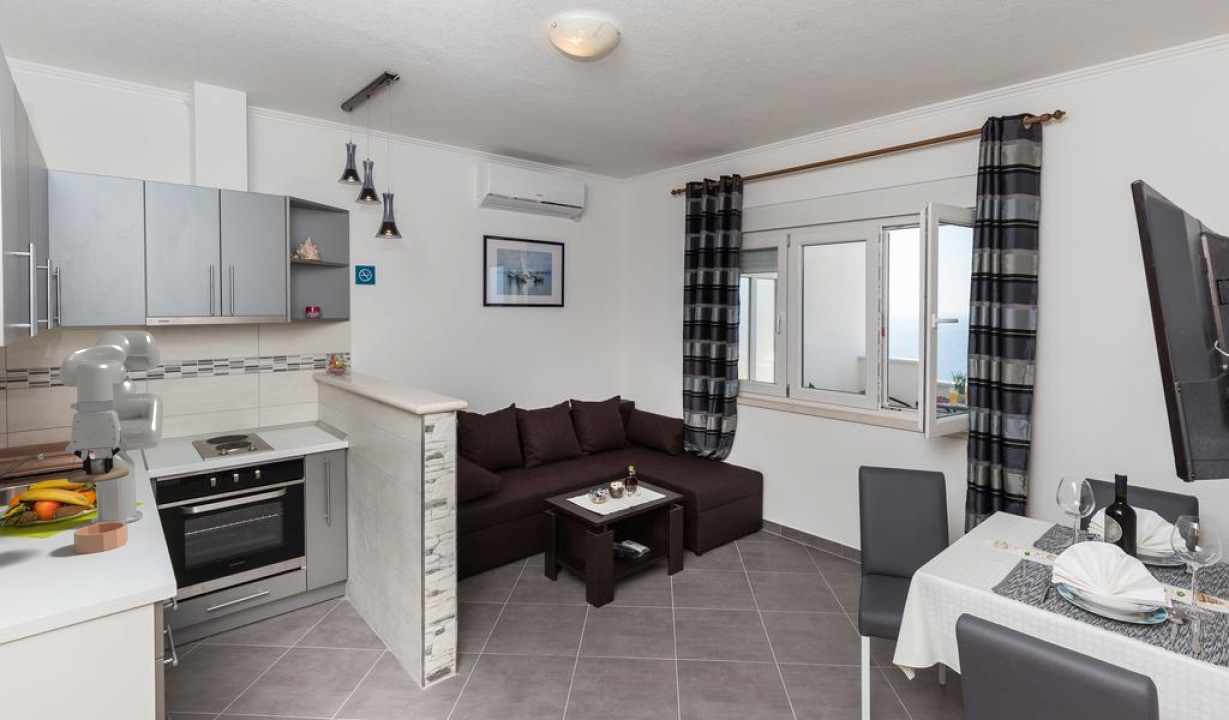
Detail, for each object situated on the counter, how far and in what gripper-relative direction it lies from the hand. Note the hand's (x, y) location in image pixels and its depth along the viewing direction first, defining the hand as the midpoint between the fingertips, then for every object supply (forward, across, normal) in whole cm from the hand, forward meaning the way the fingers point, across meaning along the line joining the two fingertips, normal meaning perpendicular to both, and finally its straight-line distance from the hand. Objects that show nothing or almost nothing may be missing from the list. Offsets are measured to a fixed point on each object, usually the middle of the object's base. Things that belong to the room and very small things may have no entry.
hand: (98, 471), depth 167 cm
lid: (+1, 0, 0) cm, 1 cm away
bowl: (+21, 0, 0) cm, 21 cm away
